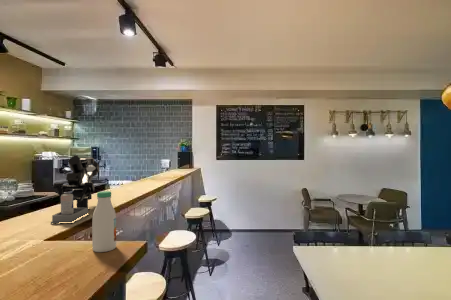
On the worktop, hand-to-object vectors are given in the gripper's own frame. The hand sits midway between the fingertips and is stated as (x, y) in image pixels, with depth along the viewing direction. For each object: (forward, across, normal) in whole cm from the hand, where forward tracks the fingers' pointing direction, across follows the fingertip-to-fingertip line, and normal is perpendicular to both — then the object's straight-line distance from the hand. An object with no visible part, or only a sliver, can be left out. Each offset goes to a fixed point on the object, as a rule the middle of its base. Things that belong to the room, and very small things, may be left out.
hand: (70, 201), depth 143 cm
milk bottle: (+41, +26, -29) cm, 56 cm away
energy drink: (+9, 0, +2) cm, 9 cm away
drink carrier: (+7, +1, +5) cm, 9 cm away
